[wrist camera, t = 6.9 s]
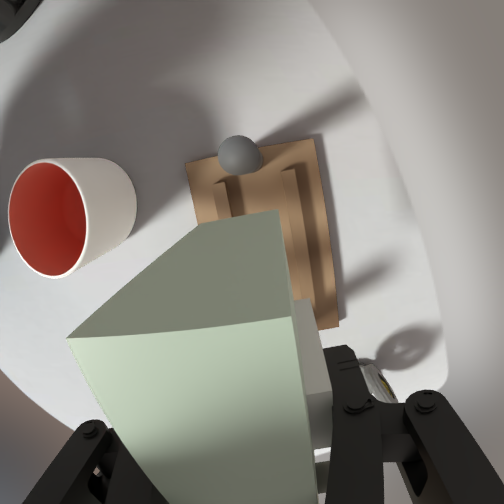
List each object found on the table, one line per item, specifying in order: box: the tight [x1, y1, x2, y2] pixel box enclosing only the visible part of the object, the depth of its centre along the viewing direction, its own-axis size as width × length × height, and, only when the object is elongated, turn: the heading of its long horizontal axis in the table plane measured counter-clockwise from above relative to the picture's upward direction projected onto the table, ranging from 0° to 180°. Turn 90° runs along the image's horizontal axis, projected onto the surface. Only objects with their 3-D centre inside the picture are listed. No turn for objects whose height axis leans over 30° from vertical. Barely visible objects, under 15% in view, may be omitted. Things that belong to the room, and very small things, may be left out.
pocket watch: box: [359, 364, 398, 403], centre depth 29 cm, size 8×8×10 cm
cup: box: [8, 158, 137, 279], centre depth 25 cm, size 10×10×10 cm
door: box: [66, 209, 330, 504], centre depth 10 cm, size 11×4×10 cm, turn 11°
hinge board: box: [185, 135, 339, 331], centre depth 25 cm, size 19×12×11 cm, turn 11°
